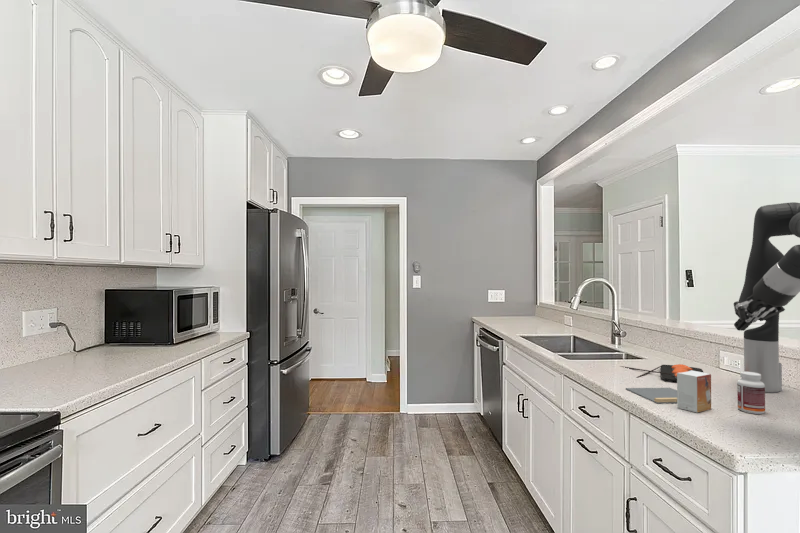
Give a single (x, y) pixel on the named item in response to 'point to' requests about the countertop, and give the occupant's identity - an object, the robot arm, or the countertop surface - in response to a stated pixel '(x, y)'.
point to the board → (657, 394)
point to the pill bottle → (751, 393)
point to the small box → (694, 391)
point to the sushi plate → (670, 371)
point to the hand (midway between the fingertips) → (738, 328)
